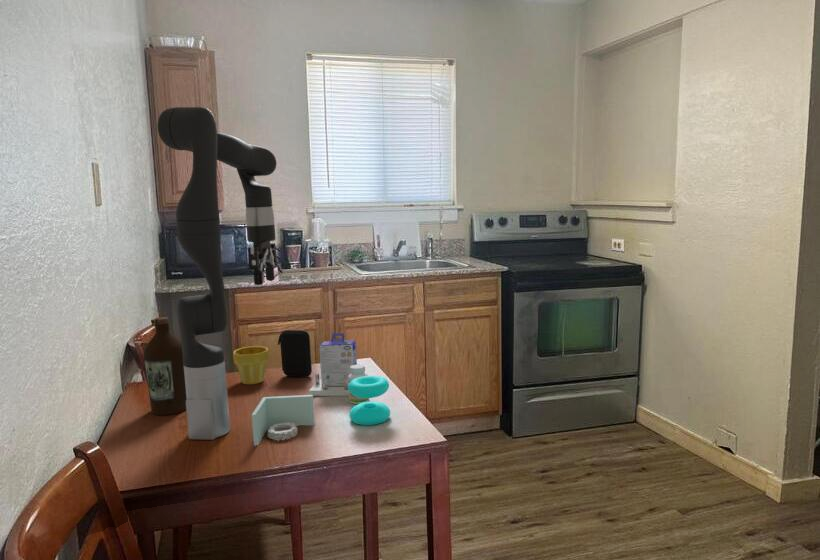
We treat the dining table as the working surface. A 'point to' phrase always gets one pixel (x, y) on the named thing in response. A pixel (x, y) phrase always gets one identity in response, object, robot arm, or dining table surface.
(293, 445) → the dining table surface
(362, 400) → the supplement bottle
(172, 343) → the olive oil
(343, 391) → the pin tray
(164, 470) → the dining table surface
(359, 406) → the donuts
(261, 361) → the plant pot
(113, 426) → the dining table surface
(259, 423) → the right angle wall
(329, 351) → the ink cartridge box
